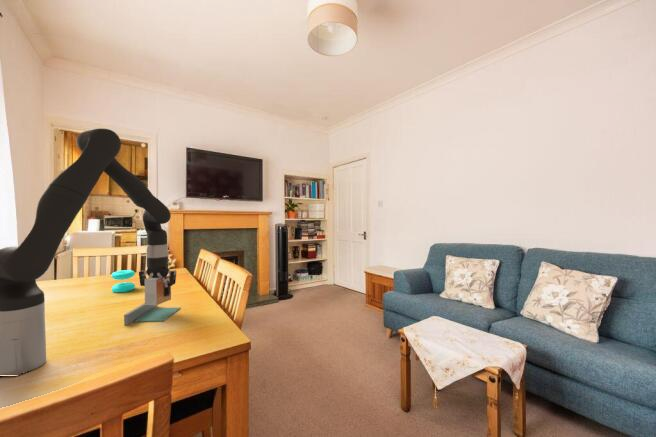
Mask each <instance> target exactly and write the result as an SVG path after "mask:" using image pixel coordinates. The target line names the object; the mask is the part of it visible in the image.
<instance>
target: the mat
mask: <svg viewBox="0 0 656 437" xmlns="http://www.w3.org/2000/svg"><path fill="white" fill-rule="evenodd" d="M180 309H181V307H155V308H153V309H152V310H150V311H149V312H147V313H146V314H144V315H142V316H141V317H139V318H138V319H136V320H135V321H134V322H133V323H151V322H152V323H153V322H154V323H155V322H157V323H158V322H161V323H163V322H165V321H166V320H168V319H169V318H170V317H172V316H173V315H174V314H175V313H176V312H177V311H179V310H180Z"/></svg>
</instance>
